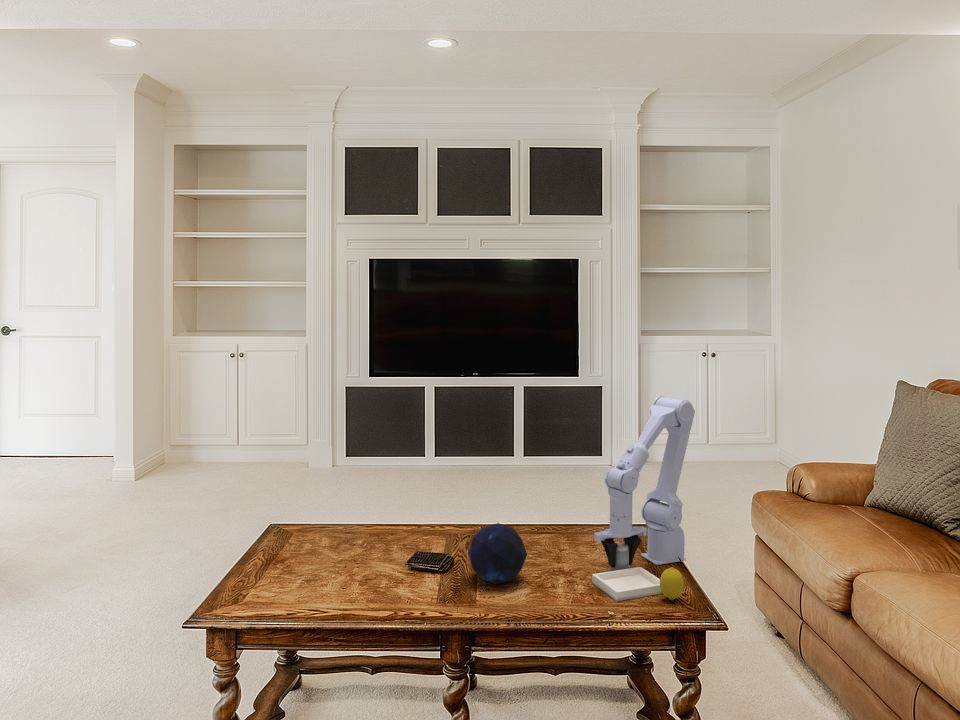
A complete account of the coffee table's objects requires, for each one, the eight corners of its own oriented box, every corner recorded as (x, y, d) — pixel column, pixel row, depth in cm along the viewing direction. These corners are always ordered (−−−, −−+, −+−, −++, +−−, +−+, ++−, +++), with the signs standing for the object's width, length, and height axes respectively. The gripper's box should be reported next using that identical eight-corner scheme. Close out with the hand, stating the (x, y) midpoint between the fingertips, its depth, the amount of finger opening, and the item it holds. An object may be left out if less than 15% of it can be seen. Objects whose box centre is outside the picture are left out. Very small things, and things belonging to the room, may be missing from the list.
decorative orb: (473, 576, 177) (507, 522, 180) (448, 556, 190) (480, 506, 193) (515, 603, 183) (547, 550, 185) (488, 581, 196) (519, 532, 199)
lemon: (679, 607, 172) (680, 573, 171) (656, 601, 175) (656, 568, 174) (686, 598, 177) (687, 565, 176) (663, 593, 180) (664, 561, 179)
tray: (640, 575, 191) (640, 566, 191) (667, 592, 180) (667, 583, 180) (591, 582, 187) (591, 574, 186) (616, 601, 175) (616, 592, 175)
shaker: (623, 567, 197) (623, 541, 196) (632, 573, 193) (632, 547, 192) (608, 569, 195) (608, 543, 194) (617, 575, 191) (617, 549, 190)
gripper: (636, 506, 199) (636, 556, 200) (588, 512, 194) (588, 563, 195) (651, 514, 192) (650, 565, 193) (602, 520, 187) (601, 572, 188)
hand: (620, 565), depth 194 cm, fingers closed on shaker, 4 cm apart
